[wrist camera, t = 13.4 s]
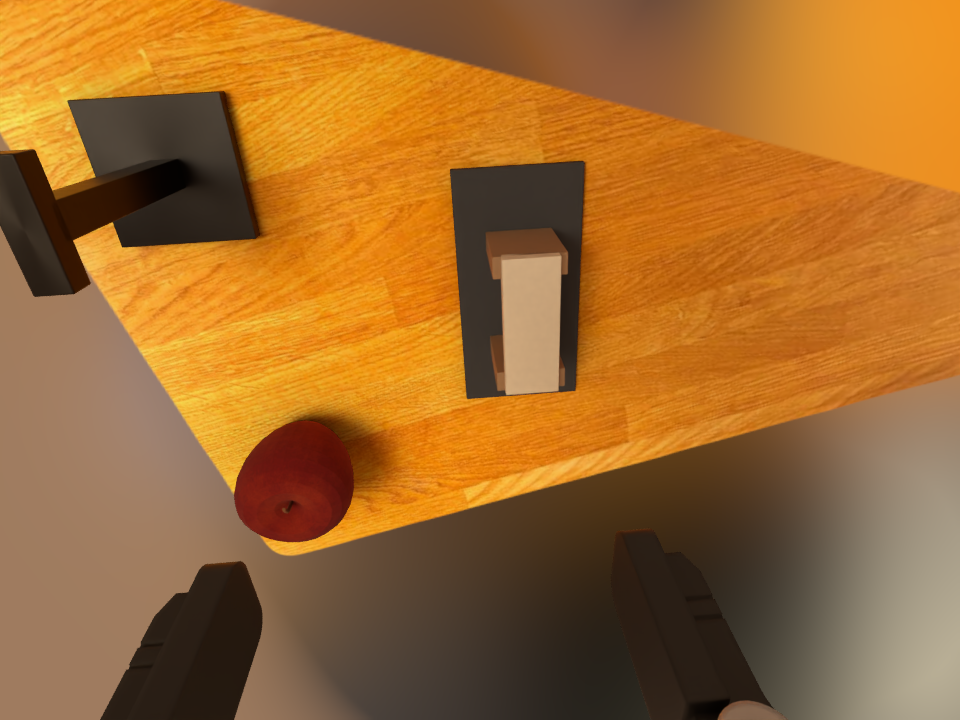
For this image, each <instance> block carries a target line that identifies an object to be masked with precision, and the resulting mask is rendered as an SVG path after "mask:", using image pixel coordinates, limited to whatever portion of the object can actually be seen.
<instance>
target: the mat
mask: <svg viewBox="0 0 960 720" xmlns="http://www.w3.org/2000/svg"><path fill="white" fill-rule="evenodd" d="M584 164H585V163H584V162H583V161H573V162H557V163H541V164H525V165H509V166H493V167H477V168H461V169H450V176H451V189H452V203H453V217H454V230H455V244H456V257H457V271H458V285H459V298H460V312H461V326H462V339H463V353H464V367H465V380H466V394H467V399H473V398H486V397H499V396H513V395H506V392H505V390H501V391H498V390H497V385H496V379H495V373H494V368H493V362H492V356H491V345H490V336H495V335H503V325H502V294H501V279H493V277H492V273H491V269H490V265H489V261H488V256H487V252H486V235H485V233H486V232H493V231H508V230H523V229H539V228H552V230H553V231H554V232H555V234H556V235H557V237H558V238H559V240H560V241H561V243H562V244H563V246H564V247H565V249H566V250H567V252H568V274H566V275H561V304H560V347H559V355H560V357H561V360H562V362H563V365H564V367H565V385H564V386H559V391H555V392H566V391H575V387H576V362H577V337H578V313H579V288H580V263H581V238H582V213H583V188H584ZM541 393H553V392H541ZM528 394H539V393H528ZM515 395H526V394H515Z"/></svg>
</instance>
